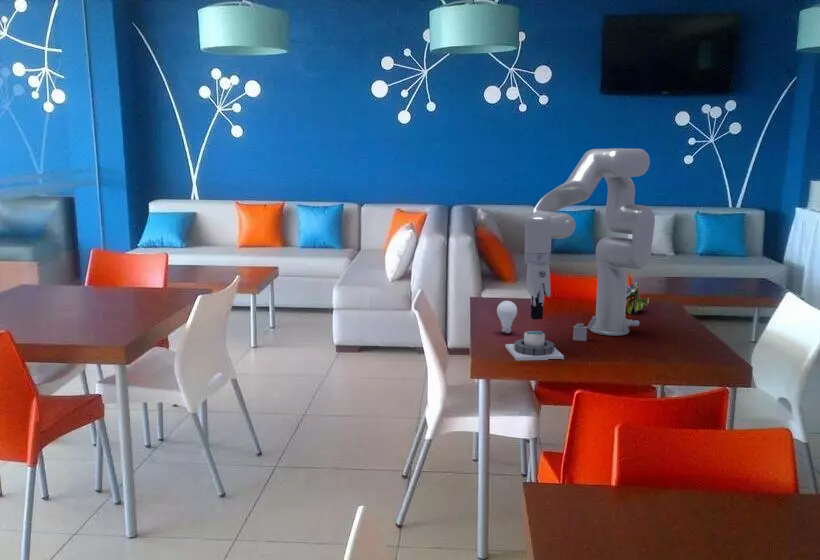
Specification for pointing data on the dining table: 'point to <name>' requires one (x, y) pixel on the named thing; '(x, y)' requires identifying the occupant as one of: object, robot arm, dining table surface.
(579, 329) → the lighter
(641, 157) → the robot arm
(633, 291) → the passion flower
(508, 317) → the light bulb
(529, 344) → the knob
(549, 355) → the segmented ring plate
